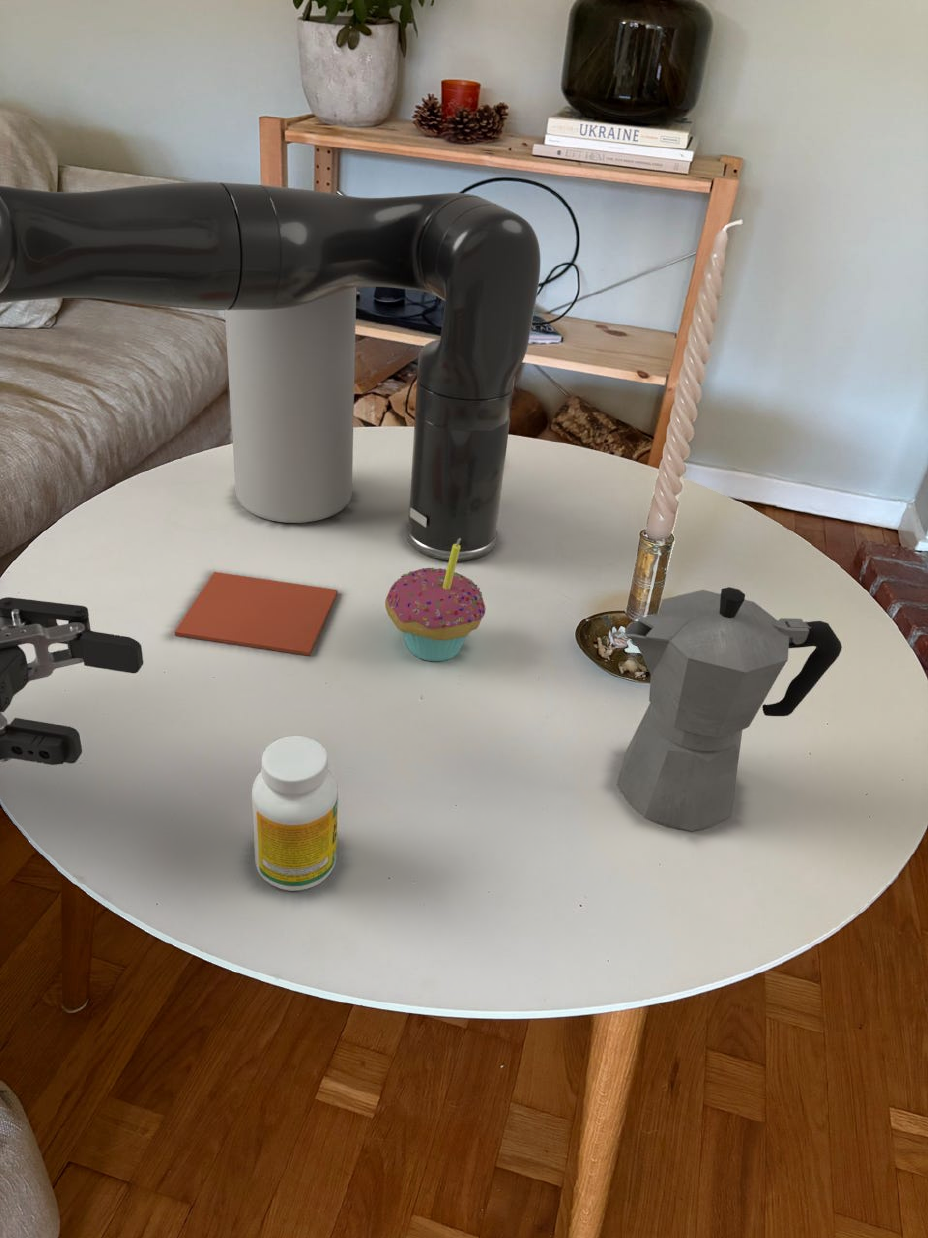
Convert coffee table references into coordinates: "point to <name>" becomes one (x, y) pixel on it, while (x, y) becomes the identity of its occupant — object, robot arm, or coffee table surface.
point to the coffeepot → (709, 699)
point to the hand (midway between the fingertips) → (111, 699)
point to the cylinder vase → (293, 407)
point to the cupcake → (435, 609)
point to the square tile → (258, 613)
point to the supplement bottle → (295, 814)
